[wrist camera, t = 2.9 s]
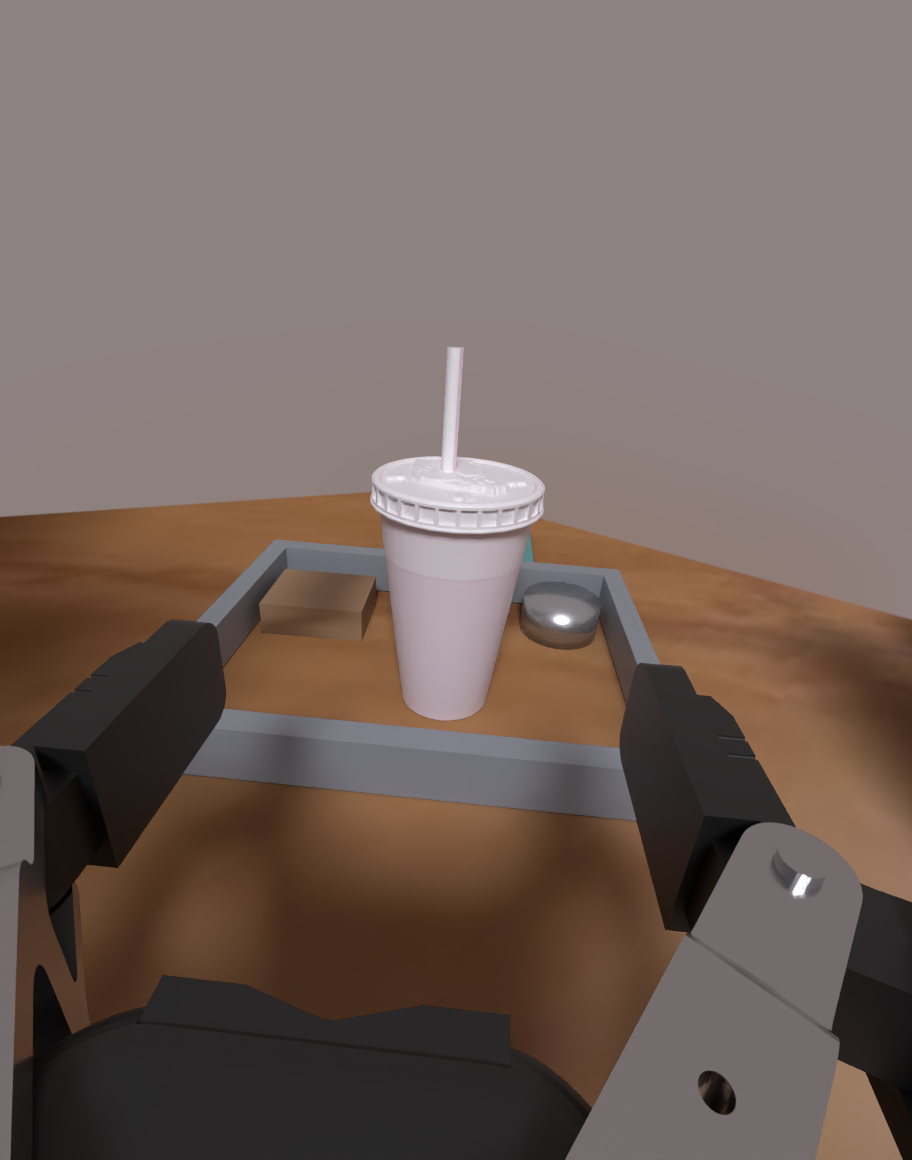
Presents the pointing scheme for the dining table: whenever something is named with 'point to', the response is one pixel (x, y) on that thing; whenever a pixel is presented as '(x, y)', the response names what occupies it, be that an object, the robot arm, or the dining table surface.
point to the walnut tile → (319, 605)
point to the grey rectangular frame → (416, 754)
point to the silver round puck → (560, 615)
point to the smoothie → (452, 562)
